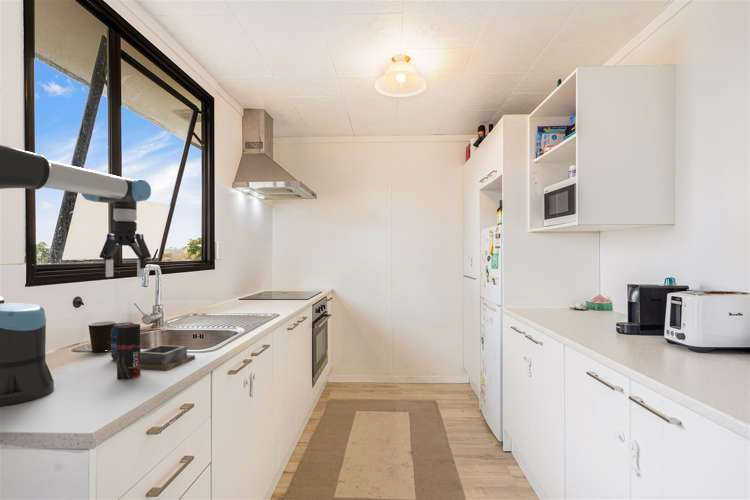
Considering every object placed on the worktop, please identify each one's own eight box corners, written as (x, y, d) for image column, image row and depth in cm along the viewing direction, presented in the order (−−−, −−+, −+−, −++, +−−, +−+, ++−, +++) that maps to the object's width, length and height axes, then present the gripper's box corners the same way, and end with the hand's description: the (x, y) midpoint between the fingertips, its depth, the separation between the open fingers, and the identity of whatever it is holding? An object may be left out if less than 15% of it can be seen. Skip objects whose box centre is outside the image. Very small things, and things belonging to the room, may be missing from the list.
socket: (166, 370, 124) (166, 356, 124) (127, 367, 127) (127, 353, 127) (194, 358, 138) (194, 345, 138) (159, 356, 140) (159, 343, 140)
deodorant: (132, 379, 115) (132, 327, 115) (112, 379, 115) (111, 327, 115) (144, 373, 121) (144, 323, 121) (125, 373, 121) (125, 323, 121)
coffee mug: (102, 353, 144) (102, 326, 144) (82, 352, 146) (82, 325, 146) (128, 345, 155) (128, 320, 155) (109, 344, 157) (109, 319, 157)
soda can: (106, 360, 135) (106, 325, 135) (124, 355, 142) (124, 321, 142) (121, 362, 133) (121, 326, 133) (139, 356, 140) (139, 322, 139)
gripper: (161, 221, 153) (161, 276, 153) (105, 222, 157) (105, 276, 157) (146, 219, 145) (146, 278, 145) (88, 220, 150) (88, 277, 150)
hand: (125, 277), depth 151 cm, fingers open, 13 cm apart
